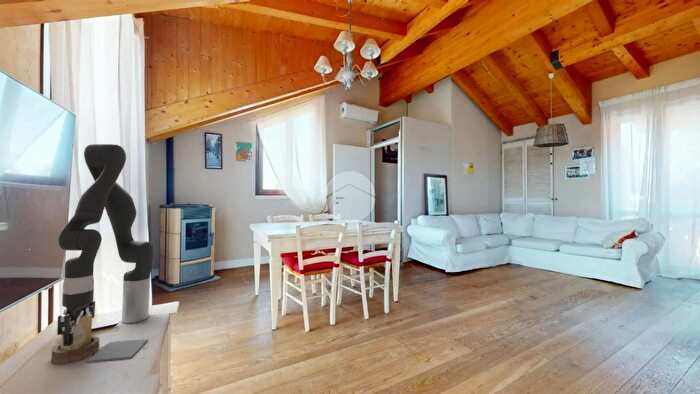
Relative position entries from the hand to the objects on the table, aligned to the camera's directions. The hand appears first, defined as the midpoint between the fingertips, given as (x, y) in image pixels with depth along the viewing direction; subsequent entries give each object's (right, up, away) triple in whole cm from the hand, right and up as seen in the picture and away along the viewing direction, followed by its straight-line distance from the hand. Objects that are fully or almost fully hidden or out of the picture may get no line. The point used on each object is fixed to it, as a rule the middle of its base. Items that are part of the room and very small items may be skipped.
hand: (76, 339), depth 95 cm
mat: (+12, -5, +3) cm, 13 cm away
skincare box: (0, -5, 0) cm, 5 cm away
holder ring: (0, -5, 0) cm, 5 cm away
